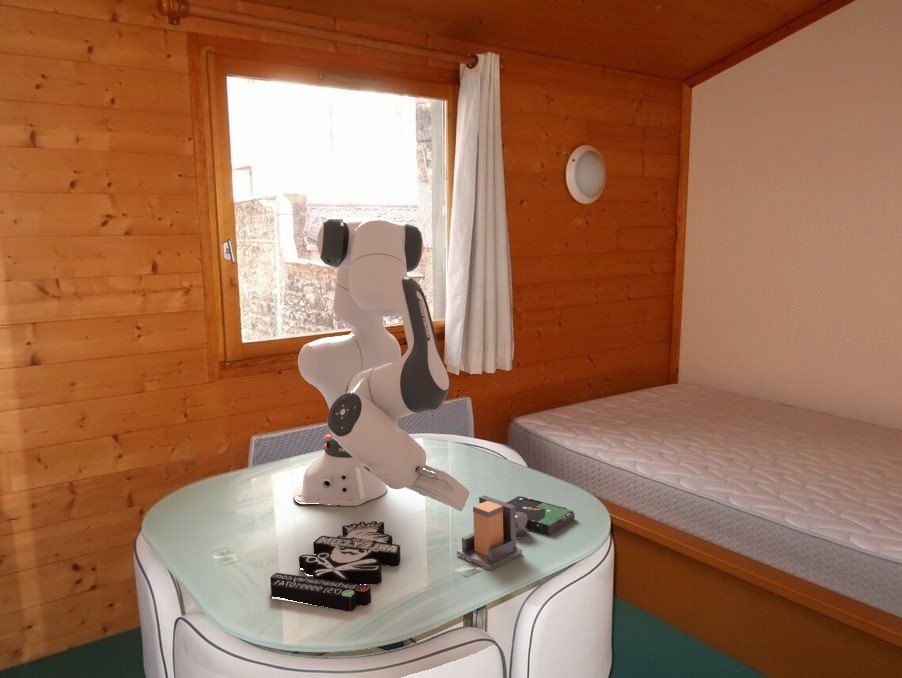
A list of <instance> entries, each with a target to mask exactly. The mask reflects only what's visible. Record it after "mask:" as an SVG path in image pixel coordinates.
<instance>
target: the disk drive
mask: <svg viewBox="0 0 902 678" xmlns="http://www.w3.org/2000/svg"><path fill="white" fill-rule="evenodd" d="M505 503H508V504H511V505H514V506H516V512H523V513H525V514H527V530H529V529H530V530H529V531H532V530H534V531H533V532H536V533H538V532H539V534H542V533H543V535H545V536H549V537H550V536H552V535H553V534H555V533H556V532H558V531H559V530H561V529H562V528H564V527H565V526H567V525H569V524H570V523H572V522H573V521H575V512H574V510H572V509H568V508H567V507H563V506H559V505H556V504H551V503H548V502H543V501H540V500H537V499H532V498H529V497H525V496H520V495H518V496H517V497H514V498H512V499H510V500H509V501H507V502H505Z"/></svg>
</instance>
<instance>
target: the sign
mask: <svg viewBox="0 0 902 678" xmlns="http://www.w3.org/2000/svg"><path fill="white" fill-rule="evenodd" d="M341 530H342V531H341V532H342V534H341V535H338V536H329V535H328V536H327V535H321V536H319V537H318V538H316V539H315V540H314V541H313V542H312V543H313V544H312V545H313V554H301V555H299V556H298V565H299V566H298V567H300V568H303V569H304V571H303V572H305V573H306V574H309V575H313V577H308V576H304V575H303V576H302V575H295V574H289V573H282V572H275V573H273V574H272V575H271V576H270V578H269V579H270V592H271V593H270V594H271V595H270V596H271V597H272V596H273V597H280V598H285V599H288V600H293V601H297V602H303V603H308V604H312V605H317V606H316V607H318V606H322V607H321V608H325V607H328V608H327V609H331V608H332V609H334V610H338V611H339V610H340V611H344V612H351V613H352V612H353V611H354V610H355V609H356V608H357V606H360V605H362V607H367V606H368V604H369V603H370V604H371V602H372V592H371V591H372V589H371V585H364V584H373V585H379V584H378V583H380V582H381V583H382V581H383V579H382V576H383V575H382V566H387V565H390V567H394V566H397V567H399V566H400V564H401V560H400V559H402V558H401V556H402V555H401V545H400V544H396V543H395V544H394V543H393V535H391V534H388V533H385V522H383V521H380V522H378V521H376V520H374V521H373V520H372V521H371V522H368V523H366V522H365V521H359V522H358V523H354V522H353V523H351V524H348V525H343V526H341ZM314 554H316V555H314ZM399 563H400V564H399ZM398 565H399V566H398ZM300 568H299V569H300ZM381 583H380V584H381ZM360 584H361V585H360ZM356 604H357V605H356ZM370 604H369V605H370ZM312 605H311V606H312ZM366 605H367V606H366ZM323 606H324V607H323ZM332 609H331V610H332Z"/></svg>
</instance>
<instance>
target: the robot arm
mask: <svg viewBox="0 0 902 678" xmlns="http://www.w3.org/2000/svg"><path fill="white" fill-rule="evenodd" d="M316 238H317V239H316V248H317V252H318V254H319V258H320V260H321V261H322V262H323V263H324V264H325V265H326V266H330V267H333V268H337V273H336V281H335V289H334V297H333V299H334V300H333V305H332V307H333V313H334V315H335V317H336V318H337V319H338V320H339V322H340V323H342V324H345V325H346V326H348V327H350V328H351V330H350V333H348V334H346V335H337V336H329V337H321V338H319V339H316V340H313V341H311V342H308V343H305V344H303V346H302V347H301V349H300V350H299V353H298V356H297V366H298V370H299V374H300V375H301V376H302V378H303V379H304V381H306V382H307V383H308V384H310V385H311V386H313V387H315V388H316V389H317V390H318V391H319V392H320V393H321V394H322V395H323V398H324V399H325V401H326V403H327V406H328V409H329V410H328V413H327V417H326V421H327V422H326V424H327V429H328V430H329V432H330V433H331V434H329V433H328V434H326V435H325V436H324V438H323V450H324V453H323V454H321V455H319V457H317V458H316V459H315V460H314V461H313V462H311V463H310V464H309V465H308V467H306V470H305V472H304V474H303V479H302V483H301V484H303V486H300V485H301V484H299V485H298V486H297V487H296V488H295V490H294V493H293V498H294V497H296V496H298V497H300V498H296V500H297V501H298V502H305V503H319V504H331V505H330V506H337V505H340V507H341V506H346V507H348V506H349V507H351V506H352V507H357V506H360V505H363V504H364V503H366V502H368V501H372V500H374V499H378V498H379V497H381V496H383V495H384V494H386V493H387V491H388V488H390V489H394V490H401V489H405V488H406V489H409V490H411V491H413V492H416V493H417V494H418V495H420V496H423V497H427V498H430V499H432V500H434V501H437V502H439V503H441V504H444V505H447V506H448V507H451V508H453V509H454V510H456V511H459V512H462V511H463V509H464V508H465V506H466V503H467V501H468V500H469V497H470V494H471V493H470V491H469V489H468V487H466V486H464V484H462V483H461V482H459V481H458V480H457V479H456V478H455V477H453V476H452V475H451V474H449V473H447V472H445V471H444V470H441V469H439V468H437V467H434V466H431V465H428V464H426V463H427V453H426V450H425V448H424V447H423V446H422V445H420V444H419V442H417V441H416V440H415V438H413V437H412V436H411V435H410V434H409V433H408V432H407V431H405V430H404V429H401V428H400V427H399V425H398V422H399V419H402V418H405V417H407V416H411V415H413V414H417V413H418V414H419V413H423V412H425V413H426V412H429V411H433V410H437V409H439V408H440V407H441V406H442V405H443V403H444V402H445V400H446V398H447V396H448V393H449V391H450V387H451V381H450V376H449V373H448V370H447V368H446V365H445V362H444V360H443V357H442V355H441V352H440V348H439V344H438V340H437V336H436V335H437V334H436V332H435V327H434V324H433V320H432V315H431V311H430V308H429V304H428V302H427V298H426V295H425V293H424V291H423V289H422V287H421V286H420V283H418V281H416V280H415V279H414V278H412V277H408V273H410V272H413V271H414V270H415V269H417V268H418V267H419V265H420V262H421V260H422V258H423V255H424V240H423V236H422V232H421V230H420V229H419V228H418V227H417V226H415V225H414V224H410V223H406V222H402V223H400V222H396V221H393V220H389V219H388V220H387V219H383V218H375V217H373V218H367V217H343V216H341V215H340V216H331V217H328V218H327V219H325V220H324V221H322V225H321V226H320V229H319V230H318V233H317V236H316ZM383 317H401V319H402V324H403V330H404V333H405V338H406V343H407V349H406V352H405V353H404V354H403V355H402V350H401V345H400V344H399V341H398V340H397V338H396V337H395V335H393V334H392V333H390V332H389V331H388V330H387V329H386V327H385V324H384V322H383ZM294 495H295V496H294Z"/></svg>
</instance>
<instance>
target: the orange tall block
mask: <svg viewBox="0 0 902 678" xmlns="http://www.w3.org/2000/svg"><path fill="white" fill-rule="evenodd" d="M472 512H473V533H474V546H475V551H477V552H479V553H482V554H484V555H487V556H488V549H489V548H491V547H493V546H495V545H497V544H499V543H501V542H503V506H501V505H498V504H496V503H493V502H490V501H486V502H483V503H481V504H480V503H479V504H476V505H474V506H472Z"/></svg>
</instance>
